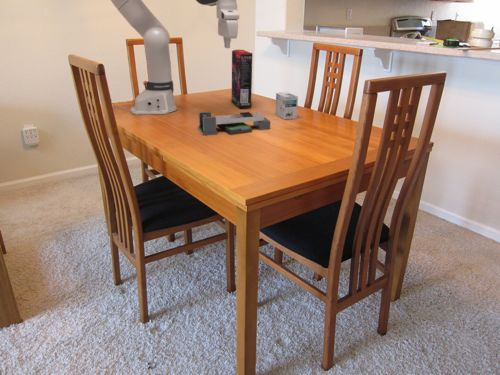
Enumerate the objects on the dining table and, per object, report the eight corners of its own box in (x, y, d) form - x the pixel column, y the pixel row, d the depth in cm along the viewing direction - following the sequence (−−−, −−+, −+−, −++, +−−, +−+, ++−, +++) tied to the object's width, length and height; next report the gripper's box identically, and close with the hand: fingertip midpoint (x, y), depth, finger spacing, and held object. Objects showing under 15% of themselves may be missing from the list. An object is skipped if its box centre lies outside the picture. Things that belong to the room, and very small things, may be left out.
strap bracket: (203, 135, 169) (202, 118, 167) (198, 128, 179) (197, 112, 176) (271, 130, 178) (271, 113, 175) (262, 123, 187) (263, 107, 184)
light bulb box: (297, 118, 195) (298, 95, 191) (284, 120, 193) (285, 96, 188) (287, 113, 204) (288, 91, 200) (274, 114, 202) (275, 92, 197)
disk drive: (215, 127, 182) (230, 136, 170) (215, 121, 181) (230, 129, 169) (237, 124, 187) (252, 133, 175) (237, 118, 186) (252, 126, 174)
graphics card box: (230, 102, 225) (230, 49, 214) (243, 101, 227) (243, 49, 216) (239, 109, 211) (239, 53, 199) (252, 108, 213) (253, 52, 201)
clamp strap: (206, 125, 171) (205, 119, 170) (203, 121, 176) (203, 115, 175) (264, 120, 178) (264, 114, 176) (259, 117, 183) (259, 111, 182)
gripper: (214, 13, 186) (214, 45, 192) (225, 14, 168) (225, 50, 174) (227, 13, 188) (228, 45, 193) (240, 14, 170) (240, 50, 176)
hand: (227, 48), depth 183 cm, fingers closed
